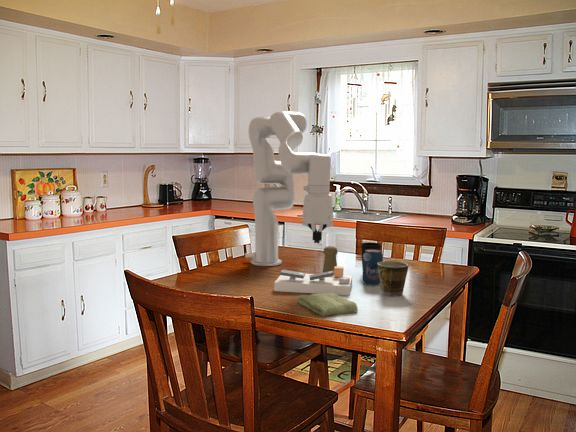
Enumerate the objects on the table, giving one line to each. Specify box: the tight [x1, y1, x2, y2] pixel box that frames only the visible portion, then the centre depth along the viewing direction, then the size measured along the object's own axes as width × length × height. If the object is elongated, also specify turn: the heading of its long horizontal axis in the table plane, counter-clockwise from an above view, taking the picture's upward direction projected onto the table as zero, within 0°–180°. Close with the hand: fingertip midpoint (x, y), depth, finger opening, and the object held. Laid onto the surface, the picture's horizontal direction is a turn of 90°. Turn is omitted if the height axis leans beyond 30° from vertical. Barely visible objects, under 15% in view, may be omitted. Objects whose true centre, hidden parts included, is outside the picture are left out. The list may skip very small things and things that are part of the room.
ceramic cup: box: [378, 260, 409, 297], centre depth 180 cm, size 13×10×10 cm
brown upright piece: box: [321, 245, 338, 273], centre depth 207 cm, size 6×6×11 cm
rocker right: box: [310, 271, 334, 280], centre depth 184 cm, size 8×4×1 cm, turn 80°
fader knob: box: [334, 265, 344, 277], centre depth 191 cm, size 3×3×3 cm
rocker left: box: [279, 269, 306, 279], centre depth 186 cm, size 8×4×1 cm, turn 80°
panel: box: [273, 273, 353, 296], centre depth 189 cm, size 25×15×4 cm, turn 80°
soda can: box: [362, 249, 384, 287], centre depth 195 cm, size 7×7×12 cm
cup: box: [360, 242, 382, 269], centre depth 208 cm, size 8×8×12 cm
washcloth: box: [298, 293, 358, 317], centre depth 166 cm, size 13×18×3 cm
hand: (316, 242), depth 192 cm, fingers closed
